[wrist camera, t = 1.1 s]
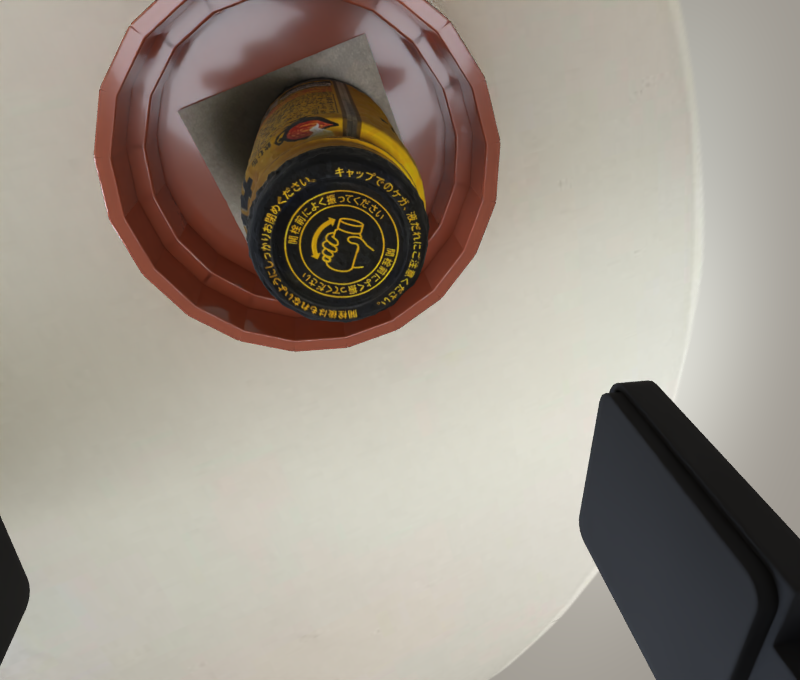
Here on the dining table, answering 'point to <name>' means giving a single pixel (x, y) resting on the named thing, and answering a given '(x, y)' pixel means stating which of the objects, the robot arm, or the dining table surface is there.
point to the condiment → (319, 183)
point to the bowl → (199, 193)
